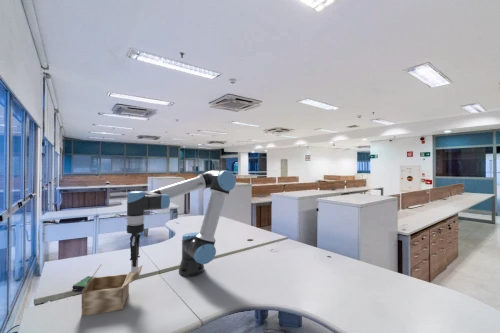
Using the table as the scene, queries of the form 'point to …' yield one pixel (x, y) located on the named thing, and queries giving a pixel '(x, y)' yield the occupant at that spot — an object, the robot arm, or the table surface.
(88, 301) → the carton
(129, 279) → the flap
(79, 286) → the disk drive
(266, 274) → the table surface
